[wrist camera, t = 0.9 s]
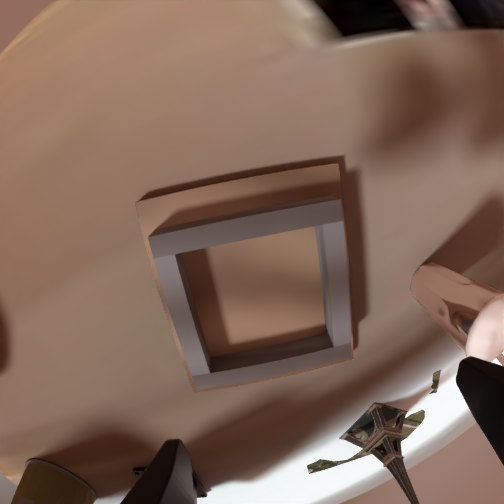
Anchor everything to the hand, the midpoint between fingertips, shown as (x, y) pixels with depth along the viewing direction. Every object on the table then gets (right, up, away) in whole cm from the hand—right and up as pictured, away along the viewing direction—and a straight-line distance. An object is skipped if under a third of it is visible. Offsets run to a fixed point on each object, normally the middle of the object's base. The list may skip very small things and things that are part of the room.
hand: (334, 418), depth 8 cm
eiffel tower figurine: (+10, -13, +19) cm, 24 cm away
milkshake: (+11, +2, +14) cm, 18 cm away
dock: (-2, +2, +12) cm, 13 cm away
